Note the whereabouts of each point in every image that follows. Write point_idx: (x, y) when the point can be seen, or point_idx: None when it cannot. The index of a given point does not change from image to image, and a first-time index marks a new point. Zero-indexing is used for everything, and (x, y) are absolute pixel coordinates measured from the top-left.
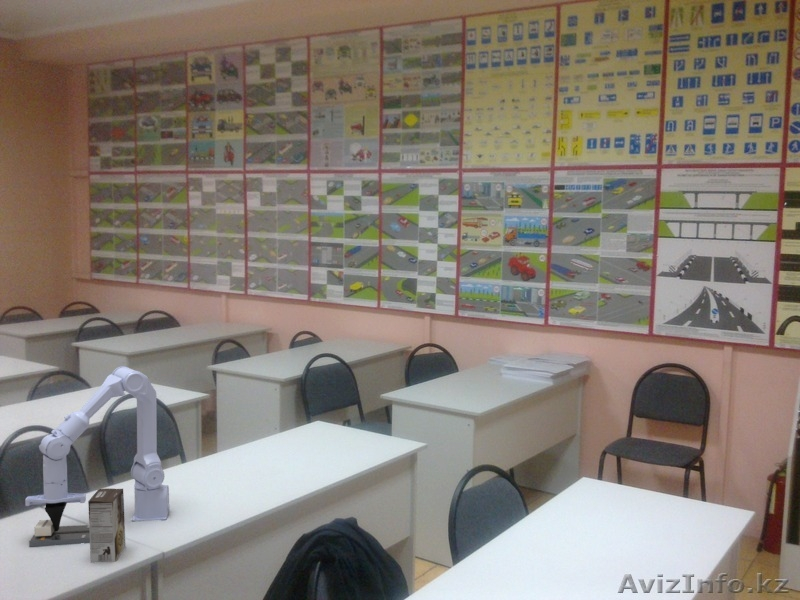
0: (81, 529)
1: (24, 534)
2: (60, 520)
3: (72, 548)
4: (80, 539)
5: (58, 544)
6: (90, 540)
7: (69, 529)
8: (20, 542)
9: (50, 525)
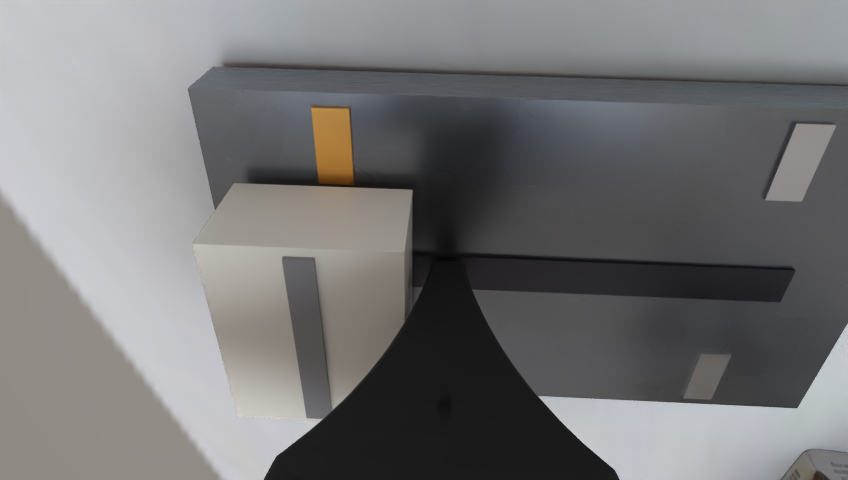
0: (698, 226)
1: (48, 23)
2: (480, 313)
3: (598, 406)
4: (672, 394)
5: None
6: None
7: (566, 207)
8: (135, 224)
9: None
